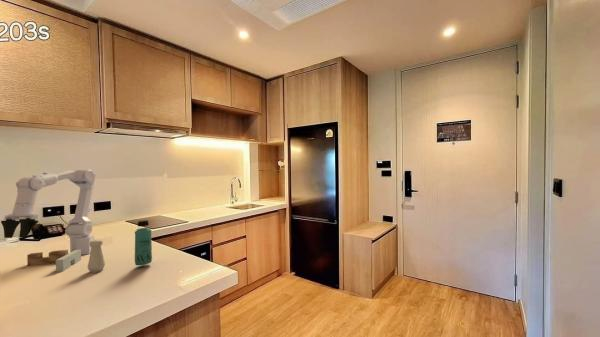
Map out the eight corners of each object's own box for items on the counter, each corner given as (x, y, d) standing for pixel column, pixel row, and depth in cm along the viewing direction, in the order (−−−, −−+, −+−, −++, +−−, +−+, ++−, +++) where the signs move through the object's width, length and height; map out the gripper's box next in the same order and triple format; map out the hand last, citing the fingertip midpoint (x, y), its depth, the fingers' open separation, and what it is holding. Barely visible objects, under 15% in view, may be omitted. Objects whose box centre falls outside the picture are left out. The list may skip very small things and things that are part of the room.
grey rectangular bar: (74, 260, 122) (74, 250, 122) (81, 260, 122) (80, 249, 123) (56, 272, 107) (55, 260, 108) (63, 271, 108) (63, 259, 108)
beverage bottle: (131, 267, 110) (130, 221, 110) (146, 262, 116) (146, 218, 116) (140, 270, 107) (139, 222, 107) (155, 264, 113) (154, 219, 113)
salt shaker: (95, 274, 104) (94, 242, 104) (83, 273, 105) (83, 241, 105) (108, 268, 110) (108, 238, 110) (97, 268, 111) (97, 238, 111)
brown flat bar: (68, 259, 123) (68, 249, 123) (65, 261, 121) (65, 251, 121) (31, 264, 119) (31, 253, 119) (27, 265, 116) (27, 254, 116)
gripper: (-2, 204, 106) (-12, 237, 102) (27, 202, 103) (18, 237, 100) (19, 206, 112) (10, 238, 109) (46, 204, 110) (38, 237, 106)
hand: (15, 237), depth 105 cm, fingers open, 7 cm apart
